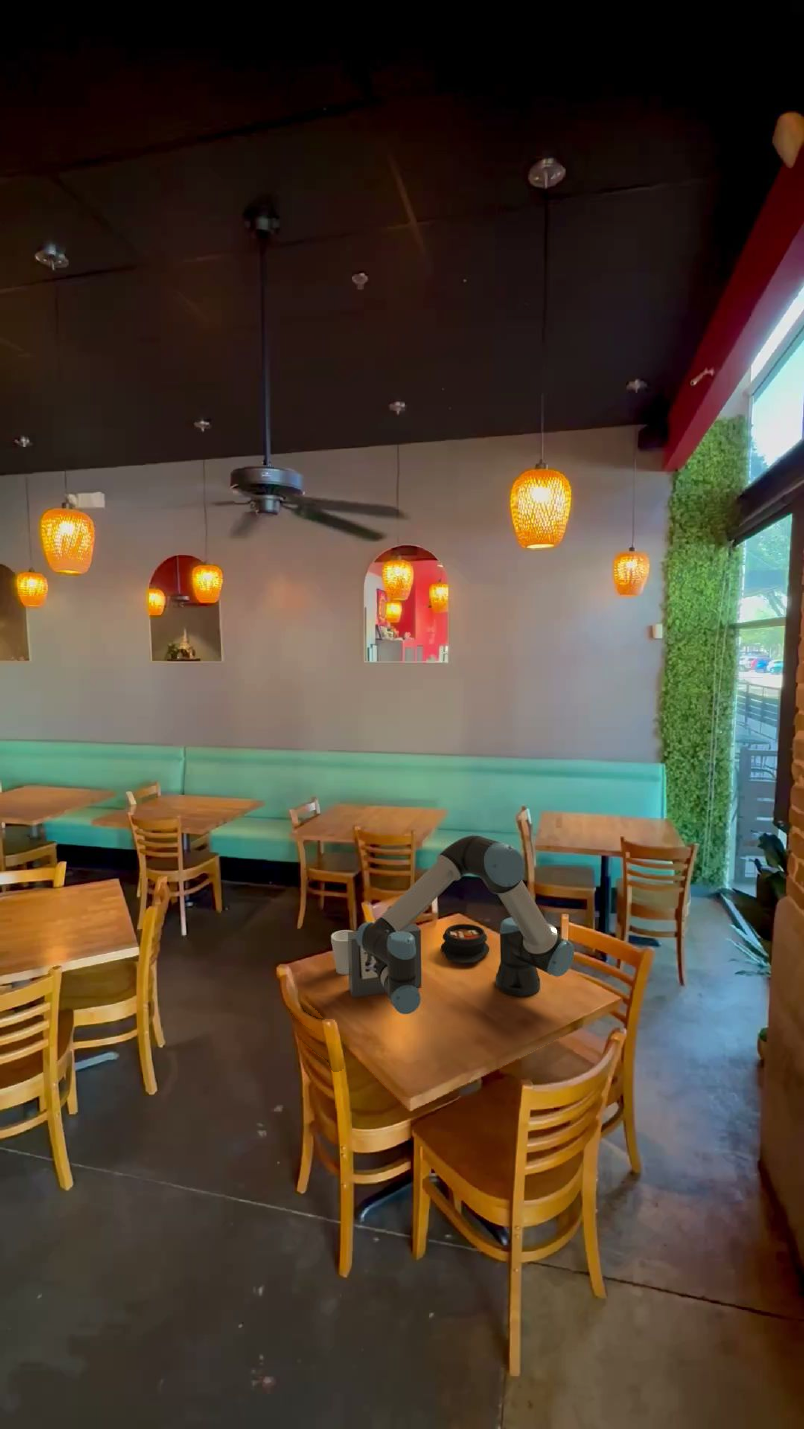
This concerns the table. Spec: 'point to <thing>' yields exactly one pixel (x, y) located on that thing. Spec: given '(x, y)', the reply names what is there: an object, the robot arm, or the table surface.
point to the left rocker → (363, 959)
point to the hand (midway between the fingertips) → (373, 941)
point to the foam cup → (341, 951)
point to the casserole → (464, 943)
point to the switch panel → (374, 985)
